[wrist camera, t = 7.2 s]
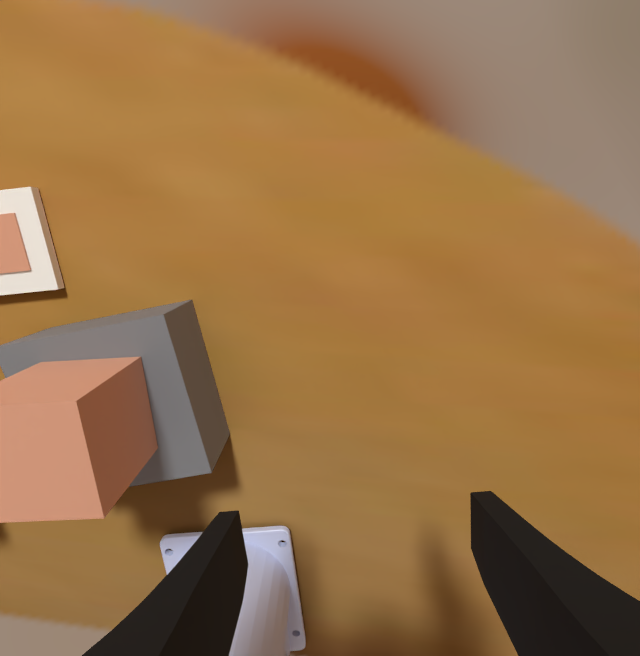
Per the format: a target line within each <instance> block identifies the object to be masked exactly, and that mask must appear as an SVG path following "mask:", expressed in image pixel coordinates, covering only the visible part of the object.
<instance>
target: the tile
mask: <svg viewBox="0 0 640 656" xmlns="http://www.w3.org/2000/svg"><path fill="white" fill-rule="evenodd" d="M62 288H65V287H64V283H63V279H62V276H61V272H60V268H59V264H58V261H57V257H56V253H55V249H54V246H53V242H52V238H51V234H50V231H49V227H48V223H47V219H46V216H45V212H44V208H43V204H42V201H41V197H40V193H39V189H38V188H36V187H24V188H15V189H7V190H0V295H9V294H19V293H28V292H38V291H47V290H57V289H62Z"/></svg>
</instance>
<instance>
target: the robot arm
mask: <svg viewBox="0 0 640 656" xmlns="http://www.w3.org/2000/svg"><path fill="white" fill-rule="evenodd" d="M281 540H284V541H286V542H281ZM160 549H161V553H162V557H163V561H164V565H165V569H166V573H167V576H166V577H165V578H164V579H163V580H162V581H161V582H160V583H159V584H158V585H157V586H156V588H155V589H154V590H153V591H152V592H151V593H150V594H149V595H148V596H147V597H146V598H145V599H144V600H143V601H142V602H141V603H140V604H139V605H138V606H137V607H136V608H135V609H134V610H133V611H132V612H131V613H130V614H129V615H128V616H127V617H126V618H125V619H124V620H122V621H121V622H120V623H119V624H118V625H117V626H116V627H115V628H114V629H113V630H112V631H110V632H109V633H108V634H107V635H106V636H104V637H103V638H102V639H101V640H100V641H99V642H97V643H96V644H95V645H94V646H93V647H91V648H90V649H89V650H88V651H87V652H86V653H84V654H83V655H82V656H290V651H299V650H302V649H304V648H305V645H306V637H305V630H304V623H303V616H302V610H301V603H300V596H299V589H298V582H297V576H296V569H295V562H294V555H293V548H292V541H291V535H290V530H289V529H288V528H287V527H285V526H270V527H257V528H244V529H242V526H241V521H240V515H239V511H228V512H219V513H218V515H217V516H216V517H215V518H214V519H213V521H212V522H211V523H210V524H209V526H208V527H207V528H206V529H205V530H204V532H191V533H178V534H167V535H165V536H163V538H162V539H161V541H160ZM169 549H171V550H173V551H171V550H169ZM471 549H472V552H473V555H474V558H475V561H476V563H477V566H478V569H479V572H480V575H481V577H482V580H483V583H484V585H485V587H486V589H487V591H488V594H489V596H490V598H491V600H492V602H493V604H494V606H495V608H496V610H497V612H498V614H499V616H500V619H501V621H502V623H503V625H504V627H505V629H506V631H507V633H508V635H509V637H510V639H511V641H512V643H513V645H514V647H515V649H516V651H517V653H518V656H640V601H638V600H637V599H635V598H633V597H632V596H630V595H628V594H627V593H625V592H624V591H622V590H621V589H619V588H618V587H616V586H614V585H613V584H611V583H610V582H608V581H607V580H605V579H603V578H602V577H600V576H599V575H597V574H596V573H594V572H593V571H591V570H590V569H589V568H587V567H586V566H584V565H583V564H582V563H580V562H579V561H577V560H576V559H575V558H573V557H572V556H571V555H569V554H568V553H566V552H565V551H564V550H562V549H561V548H560V547H558V546H557V545H556V544H554V543H553V542H552V541H551V540H549V539H548V538H547V537H545V536H544V535H543V534H542V533H540V532H539V531H538V530H537V529H535V528H534V527H533V526H532V525H531V524H529V523H528V522H527V521H526V520H525V519H523V518H522V517H521V516H520V515H519V514H517V513H516V512H515V511H514V510H513V509H511V508H510V507H509V506H508V505H507V504H506V503H504V502H503V501H502V500H501V499H500V498H499V497H497V496H496V495H495V494H494V493H493V492H491V491H485V492H472V493H471Z"/></svg>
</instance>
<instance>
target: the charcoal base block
mask: <svg viewBox="0 0 640 656" xmlns="http://www.w3.org/2000/svg"><path fill="white" fill-rule="evenodd" d="M123 357H141V360H142V365H143V370H144V375H145V381H146V386H147V391H148V397H149V402H150V407H151V413H152V418H153V423H154V429H155V434H156V439H157V445H158V449H157V450H156V451H155V453H154V454H153V455H152V457H151V458H150V459H149V461H148V462H147V463H146V464H145V466H144V467H143V468H142V470H141V471H140V472H139V474H138V475H137V476H136V477H135V479H134V480H133V481H132V483H131V484H130V485H129V487H131V486H137V485H143V484H149V483H154V482H160V481H166V480H172V479H178V478H184V477H190V476H196V475H202V474H208V473H212V471H213V469H214V467H215V465H216V463H217V460H218V458H219V456H220V454H221V452H222V450H223V448H224V446H225V444H226V441H227V439H228V437H229V435H230V432H229V429H228V425H227V422H226V418H225V415H224V411H223V407H222V404H221V400H220V397H219V393H218V390H217V386H216V383H215V379H214V376H213V372H212V369H211V365H210V361H209V358H208V354H207V351H206V347H205V344H204V340H203V337H202V333H201V330H200V326H199V323H198V319H197V315H196V312H195V308H194V305H193V301H192V300H188V301H183V302H178V303H173V304H168V305H163V306H158V307H153V308H148V309H143V310H138V311H133V312H128V313H123V314H117V315H112V316H107V317H102V318H97V319H92V320H87V321H82V322H77V323H72V324H67V325H62V326H57V327H52V328H48V329H45V330H43V331H40V332H37V333H34V334H31V335H28V336H26V337H23V338H20V339H17V340H14V341H12V342H9V343H6V344H3V345H0V366H1V368H2V371H3V373H4V375H5V378H7V377H10V376H12V375H14V374H16V373H18V372H20V371H23V370H25V369H27V368H29V367H31V366H33V365H35V364H38V363H40V362H51V361H69V360H87V359H105V358H123Z"/></svg>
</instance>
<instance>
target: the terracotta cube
mask: <svg viewBox="0 0 640 656" xmlns="http://www.w3.org/2000/svg"><path fill="white" fill-rule="evenodd" d="M157 449H158V445H157V439H156V434H155V429H154V423H153V418H152V413H151V407H150V402H149V397H148V391H147V386H146V381H145V375H144V370H143V365H142V360H141V357H123V358H105V359H87V360H69V361H51V362H40V363H38V364H35V365H33V366H31V367H29V368H27V369H25V370H23V371H20V372H18V373H16V374H14V375H12V376H10V377H7V378H5V379H3V380H1V381H0V523H3V522H27V521H51V520H75V519H98V518H105V516H106V515H107V514H108V513H109V511H110V510H111V509H112V507H113V506H114V505H115V503H116V502H117V501H118V500H119V498H120V497H121V496H122V494H123V493H124V492H125V490H126V489H127V488H128V487H129V485H130V484H131V483H132V481H133V480H134V479H135V477H136V476H137V475H138V474H139V472H140V471H141V470H142V468H143V467H144V466H145V464H146V463H147V462H148V461H149V459H150V458H151V457H152V455H153V454H154V453H155V451H156V450H157Z"/></svg>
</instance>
